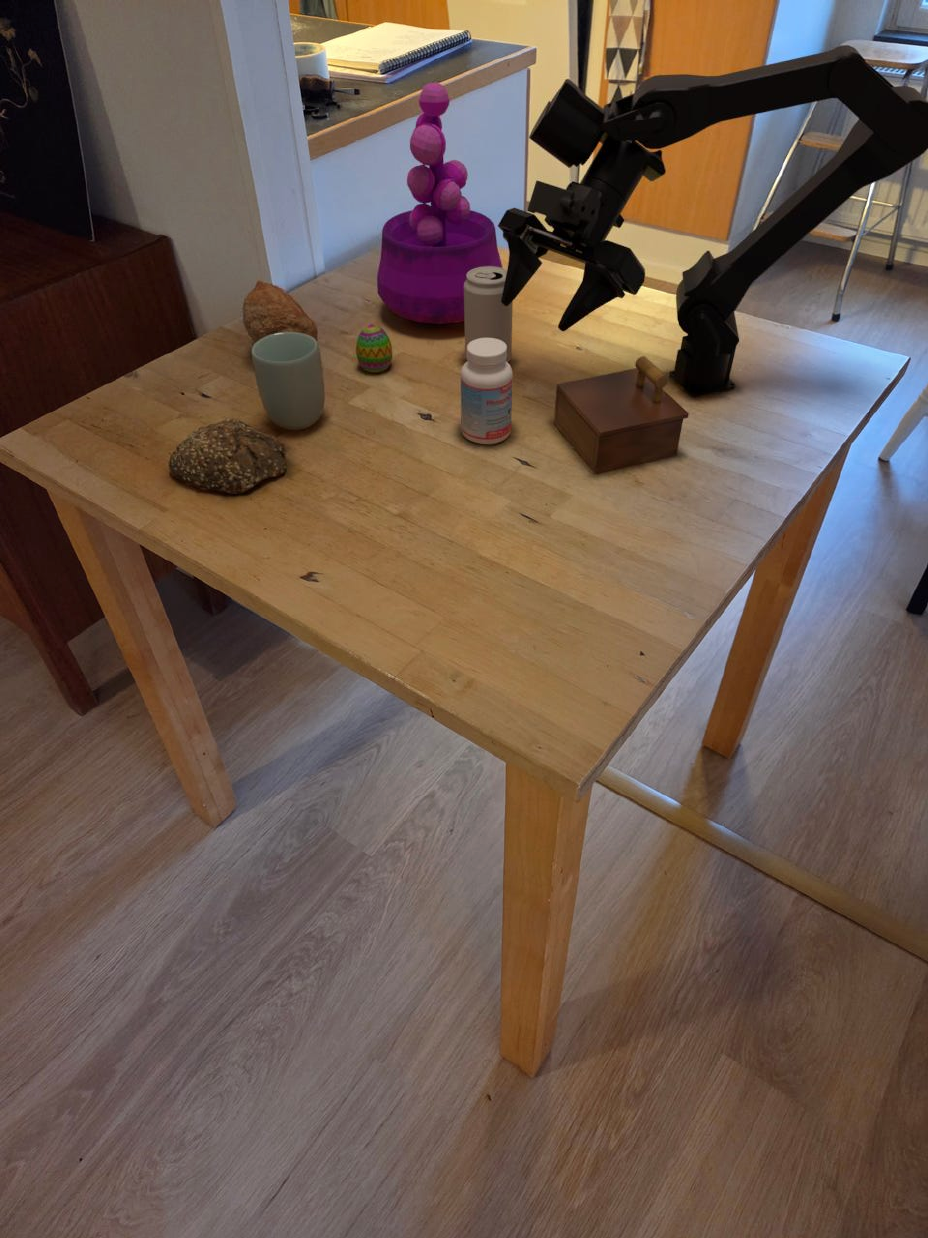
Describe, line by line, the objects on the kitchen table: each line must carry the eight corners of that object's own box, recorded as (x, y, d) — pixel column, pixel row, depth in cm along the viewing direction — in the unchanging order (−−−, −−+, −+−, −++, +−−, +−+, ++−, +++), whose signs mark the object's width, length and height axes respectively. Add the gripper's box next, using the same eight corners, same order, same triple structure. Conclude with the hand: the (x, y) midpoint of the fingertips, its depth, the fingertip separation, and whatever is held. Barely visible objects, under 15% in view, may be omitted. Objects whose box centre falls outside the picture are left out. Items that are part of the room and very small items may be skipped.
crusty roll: (310, 331, 124) (300, 262, 117) (326, 370, 116) (316, 298, 109) (245, 340, 122) (231, 271, 115) (256, 381, 114) (241, 309, 107)
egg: (364, 378, 114) (360, 336, 110) (353, 362, 117) (348, 321, 113) (398, 371, 115) (395, 328, 111) (386, 355, 118) (382, 314, 114)
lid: (639, 371, 104) (643, 340, 101) (688, 417, 96) (694, 385, 94) (556, 388, 102) (558, 357, 99) (599, 437, 94) (603, 405, 91)
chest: (630, 407, 107) (634, 372, 104) (676, 455, 100) (683, 419, 96) (553, 423, 105) (556, 388, 102) (595, 473, 97) (599, 437, 94)
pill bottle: (495, 451, 101) (496, 364, 93) (452, 437, 103) (449, 350, 95) (520, 428, 104) (523, 342, 96) (478, 414, 107) (477, 329, 99)
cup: (340, 412, 108) (330, 338, 101) (307, 443, 102) (294, 367, 96) (288, 400, 110) (275, 326, 103) (253, 429, 105) (237, 354, 98)
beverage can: (507, 373, 114) (509, 285, 106) (460, 369, 115) (459, 282, 107) (514, 351, 119) (517, 265, 110) (469, 348, 120) (468, 262, 111)
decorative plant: (504, 340, 121) (508, 100, 100) (375, 341, 122) (352, 102, 101) (501, 285, 135) (505, 64, 114) (385, 286, 135) (367, 66, 114)
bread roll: (156, 473, 98) (144, 436, 95) (233, 426, 106) (225, 389, 102) (235, 510, 93) (225, 472, 90) (310, 457, 100) (304, 420, 97)
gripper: (511, 130, 94) (440, 258, 97) (642, 167, 84) (559, 308, 87) (555, 189, 103) (489, 304, 106) (678, 228, 93) (603, 355, 96)
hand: (531, 316), depth 98 cm, fingers open, 9 cm apart
